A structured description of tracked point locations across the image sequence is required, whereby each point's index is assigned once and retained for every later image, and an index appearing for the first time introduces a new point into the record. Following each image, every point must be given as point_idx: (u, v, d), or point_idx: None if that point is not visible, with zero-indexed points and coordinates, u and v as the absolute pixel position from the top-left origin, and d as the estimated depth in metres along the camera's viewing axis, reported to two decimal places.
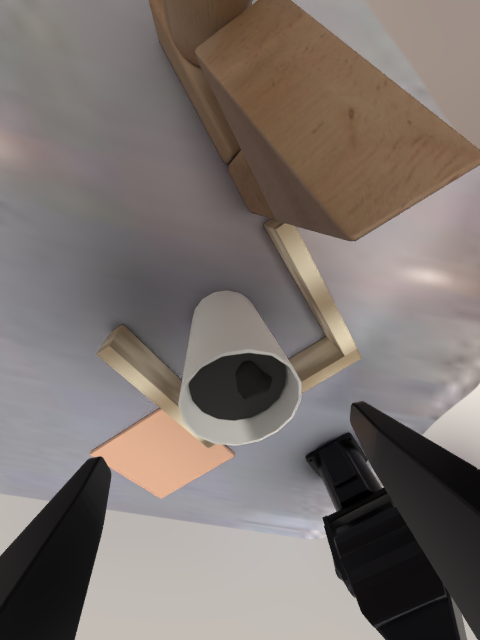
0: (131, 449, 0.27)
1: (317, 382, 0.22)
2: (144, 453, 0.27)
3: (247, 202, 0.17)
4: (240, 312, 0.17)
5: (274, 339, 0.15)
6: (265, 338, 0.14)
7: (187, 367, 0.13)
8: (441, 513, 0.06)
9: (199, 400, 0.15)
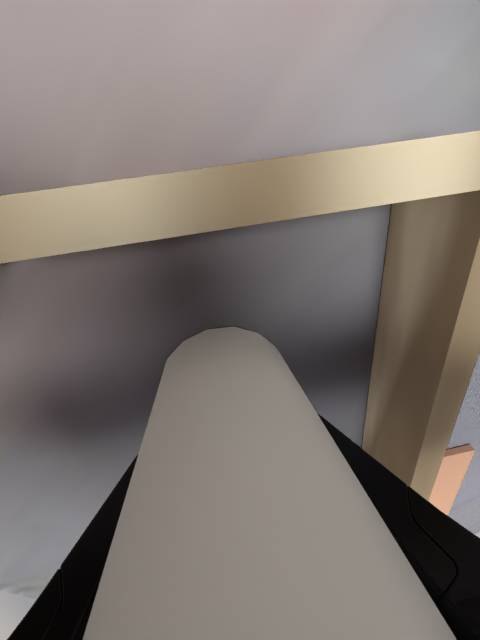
0: None
1: None
2: None
3: None
4: (142, 460, 0.06)
5: (202, 538, 0.04)
6: None
7: None
8: None
9: None
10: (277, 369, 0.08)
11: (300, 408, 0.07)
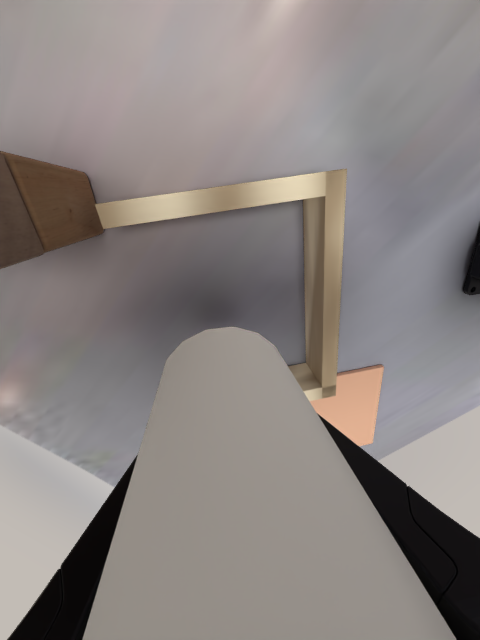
0: None
1: (340, 249, 0.16)
2: None
3: None
4: (142, 460, 0.06)
5: (202, 538, 0.04)
6: None
7: None
8: None
9: None
10: (277, 369, 0.08)
11: (300, 408, 0.07)
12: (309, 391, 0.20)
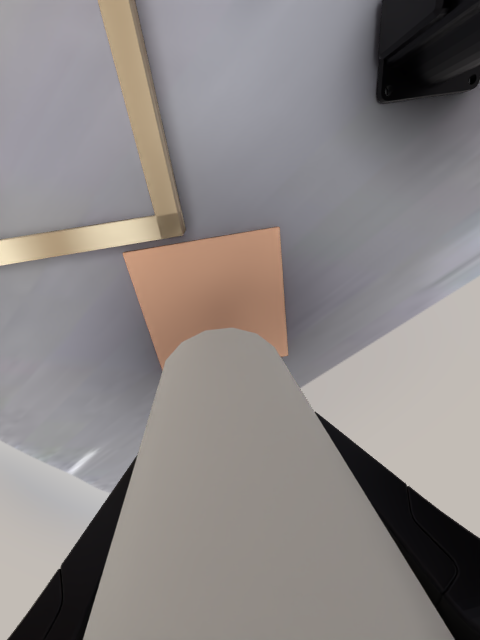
0: (181, 340, 0.21)
1: None
2: (196, 331, 0.20)
3: None
4: (141, 462, 0.06)
5: (201, 540, 0.04)
6: None
7: None
8: None
9: None
10: (276, 370, 0.08)
11: (299, 409, 0.07)
12: (137, 222, 0.14)
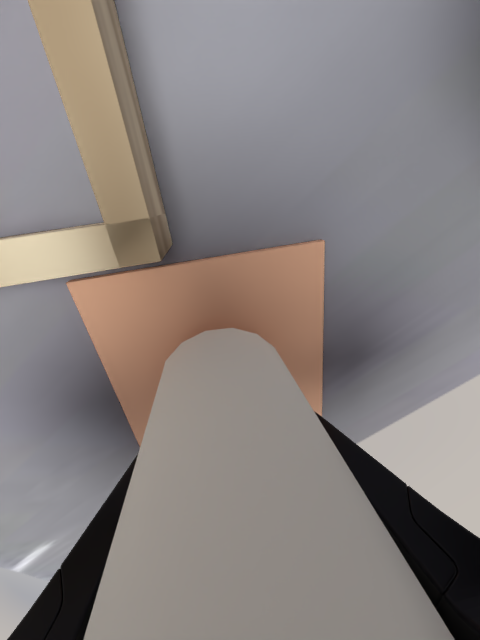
0: None
1: None
2: None
3: None
4: (141, 462, 0.06)
5: (201, 541, 0.04)
6: None
7: None
8: None
9: None
10: (276, 370, 0.08)
11: (299, 409, 0.07)
12: (68, 237, 0.07)
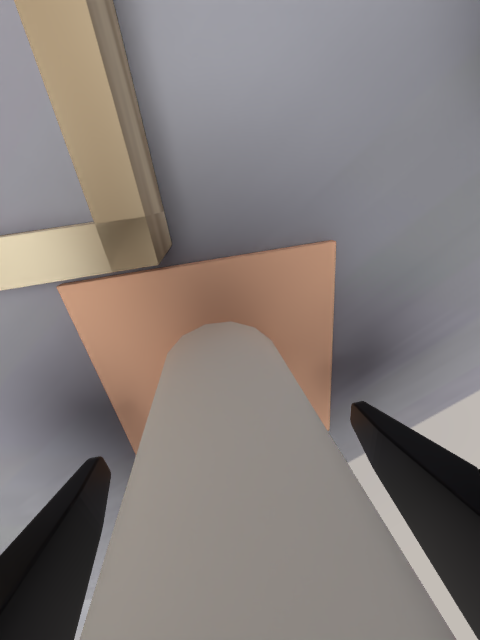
0: None
1: None
2: None
3: None
4: (145, 442, 0.07)
5: (199, 500, 0.04)
6: (126, 612, 0.03)
7: None
8: (442, 513, 0.06)
9: None
10: (271, 360, 0.09)
11: (292, 394, 0.07)
12: (53, 237, 0.06)
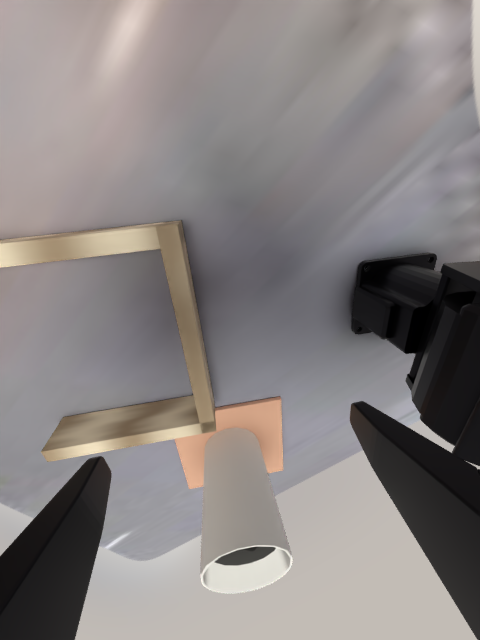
0: None
1: (188, 297, 0.16)
2: None
3: None
4: (210, 486, 0.21)
5: (231, 505, 0.19)
6: (218, 527, 0.18)
7: (209, 567, 0.19)
8: (441, 513, 0.06)
9: (240, 562, 0.20)
10: (252, 452, 0.23)
11: (257, 470, 0.22)
12: (187, 427, 0.21)
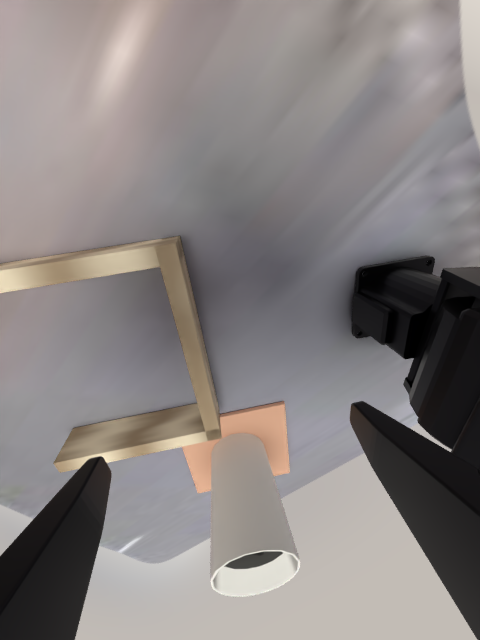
0: None
1: (189, 312, 0.16)
2: None
3: None
4: (217, 492, 0.22)
5: (238, 511, 0.19)
6: (226, 532, 0.18)
7: (219, 571, 0.20)
8: (441, 513, 0.06)
9: (250, 566, 0.21)
10: (257, 457, 0.24)
11: (263, 475, 0.22)
12: (193, 435, 0.21)
